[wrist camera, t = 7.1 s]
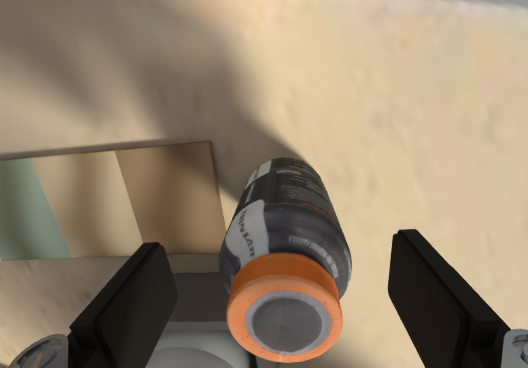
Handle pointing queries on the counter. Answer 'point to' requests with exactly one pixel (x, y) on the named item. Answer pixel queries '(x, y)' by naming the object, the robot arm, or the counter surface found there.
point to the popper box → (204, 307)
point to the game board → (110, 203)
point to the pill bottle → (285, 264)
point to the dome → (198, 350)
